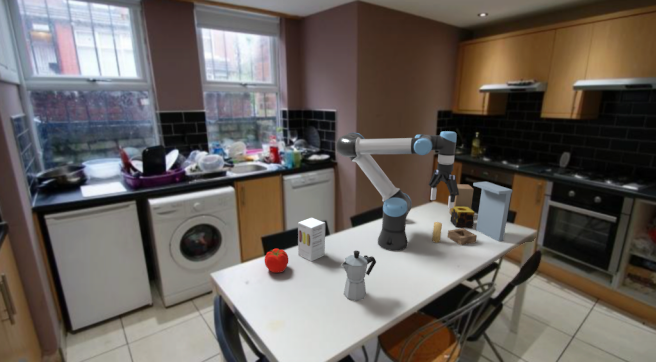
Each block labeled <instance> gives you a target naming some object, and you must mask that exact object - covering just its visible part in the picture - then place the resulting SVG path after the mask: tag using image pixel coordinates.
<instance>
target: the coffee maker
mask: <svg viewBox="0 0 656 362" xmlns="http://www.w3.org/2000/svg"><path fill="white" fill-rule="evenodd" d="M376 263H377V260H376V258H375V257H374V256H373V255H372V256H368V255H363V256H362V255H360V251H359V250H354V251H353V254H350V255H348V256H346V257H344V261H343V263H341V265H340V266H341V267H342V268H343V269H344V271H345V273H346V281H345V287H344V291H343V295H344V297H345V298H346V299H347V300H350V301H353V302H358V301H361V300H364V299H365V298H366V296H367V289H366V281H365V277H366V275H367V276H370V274H371V273H372V271H373V269H374V267H375V265H376ZM369 264H370V265H369ZM368 265H369V266H368Z"/></svg>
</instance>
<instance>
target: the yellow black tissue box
mask: <svg viewBox="0 0 656 362" xmlns="http://www.w3.org/2000/svg"><path fill="white" fill-rule="evenodd" d="M475 214H476V212H475V211H474V210H473V209H472V208H471V209H470V208H469V207H453V208H452V210H451V214H450V222H451V224H452V225H453V226H454V227H455V229H461V228H464V229H466V228H467V229H473V228H474V223H475V222H474V220H475V219H474V217H475Z"/></svg>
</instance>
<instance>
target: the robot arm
mask: <svg viewBox="0 0 656 362" xmlns="http://www.w3.org/2000/svg"><path fill="white" fill-rule="evenodd" d="M457 135H458V134H457V133H456V132H455V131H450V130H449V131H448V130H447V131H446V130H445V131H441V132H440V134H439V135H438V134H437V135H435V134H434V135H433V134H432V135H431V134H423V133H422V134H415V136H414V137H406V138H405V137H404V138H403V137H401V138H400V137H399V138H365V137H364V136H363V135H362V134H360V133H358V132H349V133H346V134H344V135H341V136H340V137H339V138H337V140H336V143H335V149H336V152H337V154H339V156H341V157H343V158H348V159H350V161H351V162H353V163H356V164H357V165H358V167H359V168H360V169H361V171H362V172H363V173H364V174H365V176H366V177H367V178H368V180H369V181H370V182H371V184H372V185H373V186H374V188H375V189H376V190H377V191H378V193H379V194H380V196H381V198H382V202H383V205H382V224H381V231H380V233H379V236H378V237H377V245H378V246H379V247H380V248H382V249H384V250H388V251H395V252H398V251H399V252H400V251H403V250H406V249H407V248H408V244H409V241H408V236H407V233H406V227H407V225H406V224H407V218H408V215H409V213H410V211H411V209H412V205H413V204H412V199H411V197H410V196H409V195H408V194H407V193H404V192H403V190H401V188H399V187H396V186H395V185H394V184H393V182H392V181H391V180H390V178H389V177H388V176H387V174H386V173H385V172H384V170H382V168H381V167H380V166H379V164H378V163H377V162H376V160H375V159H374V158H373V156H372V155H419V156H425V155H428V154H429V153H430V152H431V151H438V155H437V162H438V163H437V167H436V169H434V170H433V173H432V176H431V178H430V180H429V182H428V186H429V187H430V200H431V201H435V200H436V199H437V189H438V187H437V186H438V185H439V184H440V183H441V182H443V183H444V184H445V185H446V187H447V189H448V192H449V195H448V204H447V208H448V209H450V208H453V206H454V202H455V196H457V195H459V191H458V187H457V184H458V183H457V175H456V174H453V175H452V172H453V171H454V165H455V164H454V163H455V155H456V154H455V153H456V148H457V146H456V145H457V137H458V136H457Z"/></svg>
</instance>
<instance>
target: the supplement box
mask: <svg viewBox="0 0 656 362" xmlns="http://www.w3.org/2000/svg"><path fill="white" fill-rule="evenodd" d="M297 234H298V235H297V237H298V238H297V244H298V245H297V252H298V256H299V257H302V258H303V259H305V260H307V261H309V262H314V261H315V260H318V259H319V258H321V257H323V256H325V255H326V250H325V249H326V222H325V221H321V220H319V219H316V218H314V217H309V218H307V219H304V220H301V221H298V223H297Z"/></svg>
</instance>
